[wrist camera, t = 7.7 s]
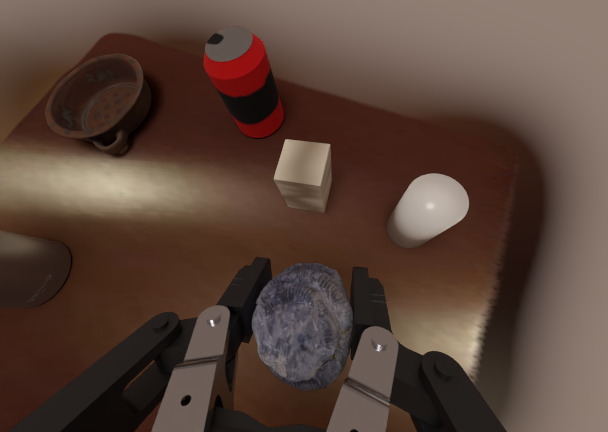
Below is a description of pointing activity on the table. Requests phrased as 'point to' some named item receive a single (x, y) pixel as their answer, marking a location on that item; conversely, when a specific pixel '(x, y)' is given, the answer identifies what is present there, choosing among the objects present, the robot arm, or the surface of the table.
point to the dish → (100, 102)
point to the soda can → (244, 80)
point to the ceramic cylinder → (427, 210)
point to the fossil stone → (304, 326)
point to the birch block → (304, 175)
